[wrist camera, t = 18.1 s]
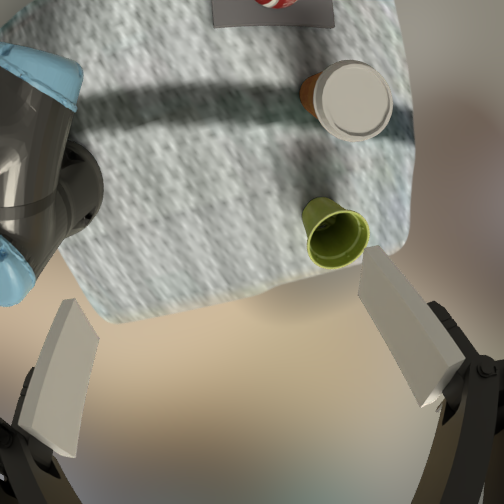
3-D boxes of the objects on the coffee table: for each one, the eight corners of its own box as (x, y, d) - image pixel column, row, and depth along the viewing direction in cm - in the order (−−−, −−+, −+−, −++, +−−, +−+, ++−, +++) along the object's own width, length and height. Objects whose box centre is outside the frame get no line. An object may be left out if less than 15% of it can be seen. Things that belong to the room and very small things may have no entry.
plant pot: (349, 228, 49) (372, 256, 42) (299, 246, 49) (314, 278, 42) (340, 179, 44) (365, 201, 36) (285, 198, 44) (300, 224, 37)
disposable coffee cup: (288, 61, 33) (318, 53, 23) (351, 68, 34) (398, 68, 24) (287, 125, 38) (315, 142, 28) (349, 128, 39) (392, 147, 29)
